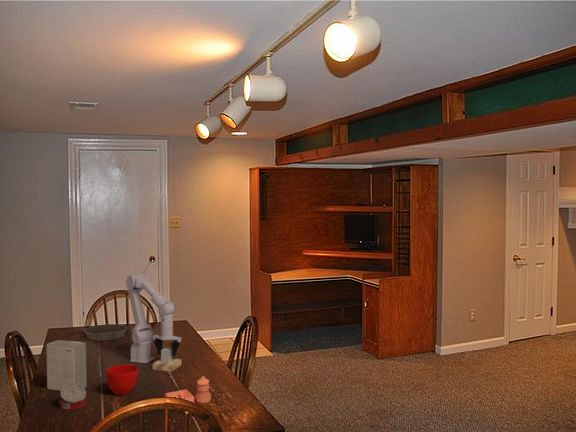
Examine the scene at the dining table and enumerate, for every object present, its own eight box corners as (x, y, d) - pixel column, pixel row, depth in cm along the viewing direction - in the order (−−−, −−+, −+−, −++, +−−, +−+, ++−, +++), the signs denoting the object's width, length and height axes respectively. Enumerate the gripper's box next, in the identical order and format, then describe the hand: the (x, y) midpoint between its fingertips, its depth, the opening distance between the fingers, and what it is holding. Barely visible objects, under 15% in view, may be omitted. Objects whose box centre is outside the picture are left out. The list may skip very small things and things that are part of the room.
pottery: (172, 411, 217) (172, 386, 217) (164, 403, 225) (164, 379, 225) (215, 402, 226) (215, 378, 226) (206, 395, 235) (206, 372, 234)
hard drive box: (87, 387, 243) (86, 342, 242) (75, 393, 236) (74, 347, 235) (58, 383, 248) (58, 339, 247) (46, 389, 241) (45, 343, 240)
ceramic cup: (121, 382, 249) (121, 360, 248) (144, 391, 238) (144, 368, 238) (95, 390, 239) (95, 367, 238) (118, 400, 228) (117, 376, 228)
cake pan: (116, 329, 348) (116, 321, 348) (134, 336, 330) (134, 329, 330) (77, 335, 331) (77, 328, 331) (94, 344, 313) (94, 336, 313)
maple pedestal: (152, 369, 268) (152, 363, 268) (163, 363, 277) (163, 357, 277) (171, 371, 265) (171, 365, 265) (181, 365, 274) (181, 359, 274)
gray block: (161, 362, 269) (161, 350, 269) (165, 359, 273) (165, 347, 273) (168, 363, 268) (168, 350, 268) (172, 360, 272) (172, 348, 272)
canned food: (83, 412, 228) (95, 390, 229) (74, 419, 218) (87, 396, 218) (59, 399, 228) (71, 377, 229) (49, 406, 218) (61, 383, 219)
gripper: (149, 328, 269) (149, 356, 269) (176, 330, 264) (176, 359, 265) (157, 325, 275) (157, 352, 276) (183, 327, 271) (183, 354, 272)
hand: (167, 355), depth 271 cm, fingers open, 7 cm apart
